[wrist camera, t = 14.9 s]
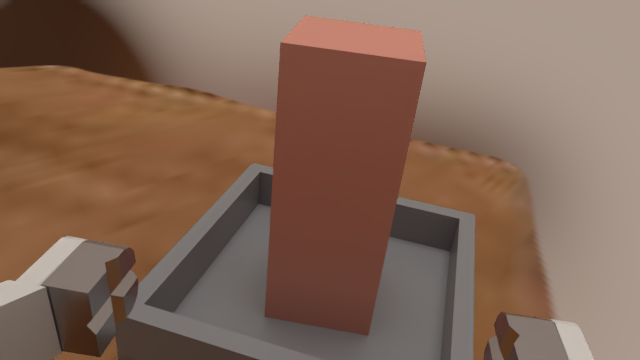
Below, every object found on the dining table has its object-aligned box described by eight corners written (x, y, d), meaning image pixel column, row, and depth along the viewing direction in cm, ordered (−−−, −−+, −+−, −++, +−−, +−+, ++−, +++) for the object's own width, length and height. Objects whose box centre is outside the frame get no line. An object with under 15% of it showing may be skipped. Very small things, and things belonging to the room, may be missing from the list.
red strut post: (264, 316, 21) (280, 42, 15) (285, 252, 25) (305, 15, 19) (368, 335, 21) (426, 62, 15) (373, 268, 25) (420, 31, 19)
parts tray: (450, 480, 17) (472, 427, 15) (120, 367, 19) (111, 312, 18) (461, 257, 28) (474, 214, 26) (251, 205, 30) (252, 163, 29)
